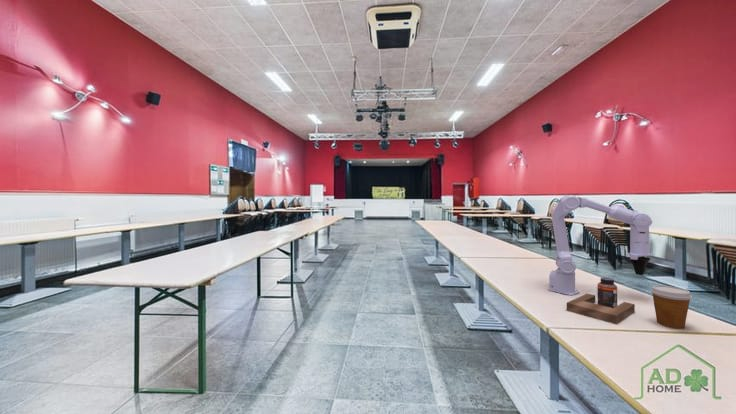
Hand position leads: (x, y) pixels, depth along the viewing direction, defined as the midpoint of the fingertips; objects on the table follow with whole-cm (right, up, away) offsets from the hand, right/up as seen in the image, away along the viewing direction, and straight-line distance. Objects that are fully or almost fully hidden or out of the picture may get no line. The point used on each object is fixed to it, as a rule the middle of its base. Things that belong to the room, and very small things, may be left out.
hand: (639, 274), depth 117 cm
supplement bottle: (-19, -11, -7) cm, 24 cm away
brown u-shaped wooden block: (-25, -11, -11) cm, 30 cm away
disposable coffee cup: (-12, -12, -23) cm, 28 cm away
